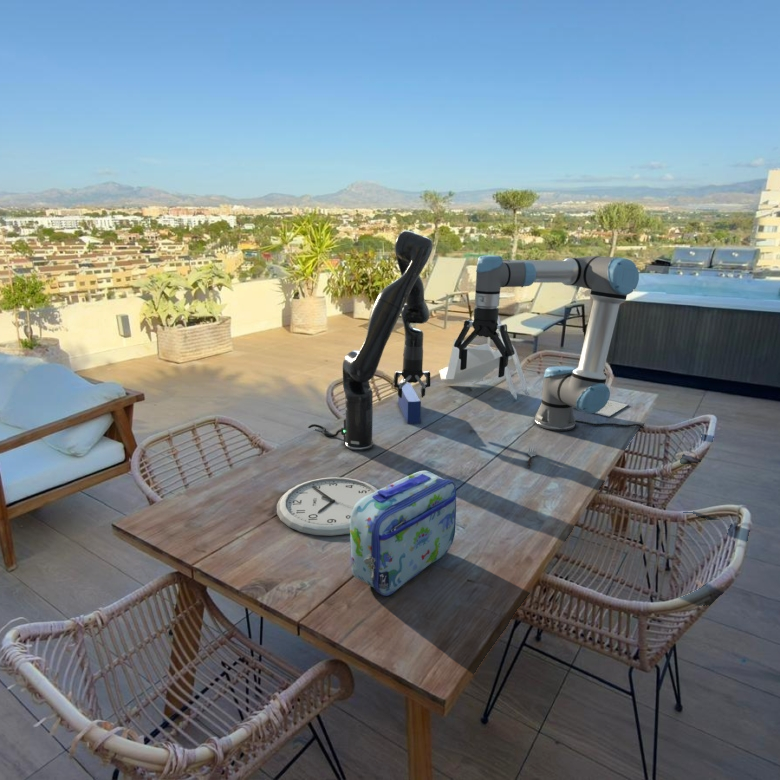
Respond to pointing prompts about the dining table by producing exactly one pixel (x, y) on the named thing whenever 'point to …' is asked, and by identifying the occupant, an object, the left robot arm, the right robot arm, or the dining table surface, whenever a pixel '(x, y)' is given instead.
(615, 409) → the invitation card
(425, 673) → the dining table surface
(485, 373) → the white plastic object
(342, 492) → the wall clock
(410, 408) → the bar
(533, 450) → the fork
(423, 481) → the lunch box
